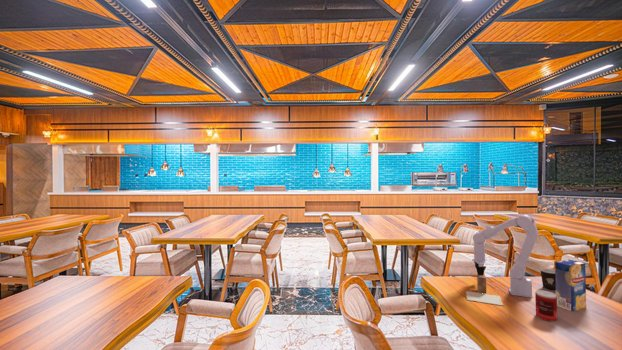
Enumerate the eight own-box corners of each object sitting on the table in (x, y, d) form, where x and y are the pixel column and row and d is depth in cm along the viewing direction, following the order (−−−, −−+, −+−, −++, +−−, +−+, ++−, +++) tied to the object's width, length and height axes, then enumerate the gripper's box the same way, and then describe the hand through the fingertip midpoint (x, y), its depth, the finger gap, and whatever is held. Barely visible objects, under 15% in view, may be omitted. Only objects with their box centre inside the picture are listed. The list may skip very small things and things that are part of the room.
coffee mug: (537, 287, 165) (537, 270, 165) (545, 284, 168) (545, 267, 168) (561, 294, 154) (561, 276, 154) (569, 291, 158) (569, 273, 158)
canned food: (548, 313, 134) (548, 290, 134) (562, 322, 126) (561, 297, 126) (531, 312, 135) (531, 289, 135) (543, 321, 127) (543, 297, 127)
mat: (499, 296, 153) (499, 296, 153) (503, 306, 142) (503, 305, 142) (466, 291, 160) (466, 291, 160) (467, 300, 149) (467, 299, 149)
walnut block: (485, 291, 160) (485, 275, 160) (486, 294, 156) (486, 278, 156) (477, 290, 162) (477, 274, 162) (478, 293, 158) (477, 277, 158)
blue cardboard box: (586, 307, 139) (585, 263, 139) (572, 311, 135) (571, 265, 135) (569, 301, 145) (568, 259, 145) (555, 305, 142) (554, 261, 142)
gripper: (471, 249, 177) (471, 270, 177) (472, 255, 164) (473, 278, 164) (484, 250, 174) (484, 272, 174) (486, 256, 161) (487, 280, 161)
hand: (479, 275), depth 169 cm, fingers open, 7 cm apart
